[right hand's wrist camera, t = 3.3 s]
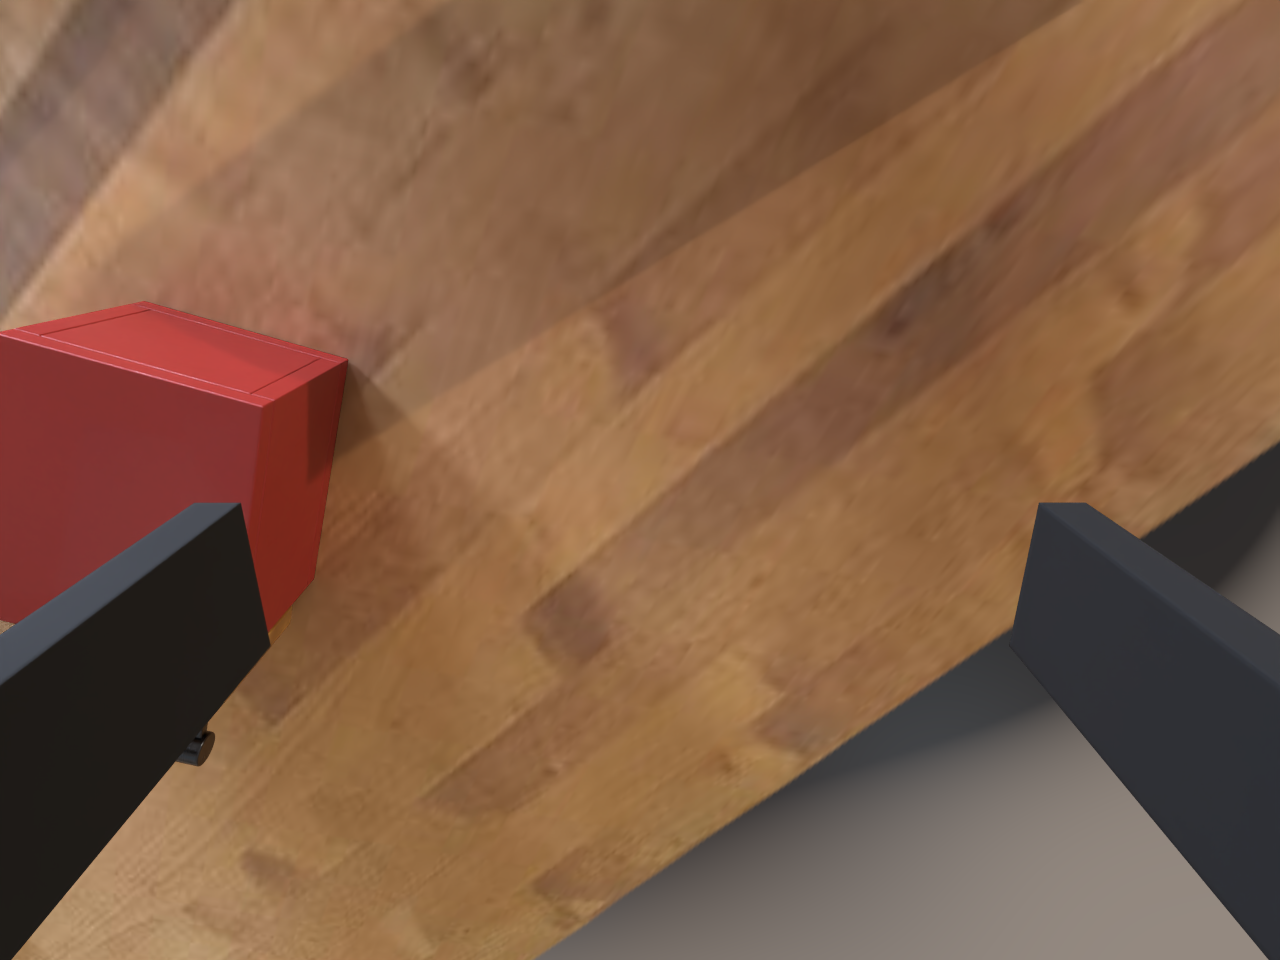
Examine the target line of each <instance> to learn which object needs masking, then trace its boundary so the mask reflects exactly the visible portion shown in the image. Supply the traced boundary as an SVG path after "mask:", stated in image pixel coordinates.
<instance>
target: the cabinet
mask: <svg viewBox="0 0 1280 960" xmlns="http://www.w3.org/2000/svg"><path fill="white" fill-rule="evenodd" d="M347 365H348V359H345V358H342V357H338V356H335V355H331V354H328V353H324V352H321V351H317V350H314V349H310V348H307V347H303V346H300V345H296V344H293V343H289V342H286V341H282V340H279V339H275V338H272V337H268V336H265V335H261V334H258V333H254V332H251V331H247V330H244V329H240V328H237V327H233V326H230V325H226V324H223V323H219V322H216V321H212V320H209V319H205V318H202V317H198V316H194V315H191V314H187V313H184V312H180V311H177V310H173V309H170V308H166V307H163V306H159V305H156V304H152V303H149V302H145V301H143V302H138V303H133V304H128V305H124V306H119V307H114V308H109V309H105V310H100V311H95V312H91V313H86V314H81V315H76V316H72V317H67V318H62V319H57V320H53V321H48V322H43V323H39V324H34V325H29V326H24V327H20V328H15V329H11V330H7V331H2V332H0V620H1V621H6V622H10V623H14V624H17V623H18V622H20V621H21V620H23V619H24V618H26V617H27V616H28V615H30V614H31V613H33V612H34V611H36V610H37V609H39V608H40V607H42V606H43V605H45V604H46V603H48V602H49V601H51V600H52V599H53V598H55V597H56V596H58V595H59V594H61V593H62V592H64V591H65V590H67V589H68V588H70V587H71V586H73V585H74V584H76V583H77V582H79V581H80V580H81V579H83V578H84V577H86V576H87V575H89V574H90V573H92V572H93V571H95V570H96V569H98V568H99V567H101V566H102V565H104V564H105V563H106V562H108V561H109V560H111V559H112V558H114V557H115V556H117V555H118V554H120V553H121V552H123V551H124V550H126V549H127V548H129V547H130V546H131V545H133V544H134V543H136V542H137V541H139V540H140V539H142V538H143V537H145V536H146V535H148V534H149V533H151V532H152V531H154V530H155V529H156V528H158V527H159V526H161V525H162V524H164V523H165V522H167V521H168V520H170V519H171V518H173V517H174V516H176V515H177V514H179V513H180V512H181V511H183V510H184V509H186V508H187V507H189V506H190V505H192V504H193V503H241V505H242V510H243V515H244V520H245V525H246V529H247V534H248V539H249V544H250V549H251V553H252V558H253V563H254V568H255V572H256V577H257V582H258V587H259V592H260V596H261V601H262V606H263V611H264V616H265V620H266V625H267V630H268V632H269V631H270V630H271V628H272V627H273V626H274V625H275V624H276V623H277V621H278V620H279V619H280V618H281V617H282V616H283V614H284V613H285V612H286V611H287V610H288V609H289V607H290V606H291V605H292V604H293V603H294V602H295V600H296V599H297V598H298V597H299V596H300V595H301V593H302V592H303V591H304V590H305V589H306V587H307V586H308V585H309V584H310V583H311V582H312V580H313V579H314V574H315V568H316V562H317V555H318V549H319V543H320V536H321V530H322V524H323V517H324V511H325V504H326V498H327V492H328V485H329V479H330V473H331V466H332V460H333V454H334V447H335V441H336V435H337V428H338V422H339V416H340V409H341V403H342V397H343V390H344V384H345V378H346V371H347Z"/></svg>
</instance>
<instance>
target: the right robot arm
mask: <svg viewBox="0 0 1280 960" xmlns="http://www.w3.org/2000/svg"><path fill="white" fill-rule="evenodd" d="M270 646H271V644H270V639H269V635H268V630H267V625H266V620H265V616H264V611H263V606H262V601H261V596H260V592H259V587H258V582H257V577H256V572H255V568H254V563H253V558H252V553H251V549H250V544H249V539H248V534H247V529H246V525H245V520H244V515H243V510H242V505H241V503H193V504H192V505H190V506H189V507H187V508H186V509H184V510H183V511H181V512H180V513H179V514H177V515H176V516H174V517H173V518H171V519H170V520H168V521H167V522H165V523H164V524H162V525H161V526H159V527H158V528H156V529H155V530H154V531H152V532H151V533H149V534H148V535H146V536H145V537H143V538H142V539H140V540H139V541H137V542H136V543H134V544H133V545H131V546H130V547H129V548H127V549H126V550H124V551H123V552H121V553H120V554H118V555H117V556H115V557H114V558H112V559H111V560H109V561H108V562H106V563H105V564H104V565H102V566H101V567H99V568H98V569H96V570H95V571H93V572H92V573H90V574H89V575H87V576H86V577H84V578H83V579H81V580H80V581H79V582H77V583H76V584H74V585H73V586H71V587H70V588H68V589H67V590H65V591H64V592H62V593H61V594H59V595H58V596H56V597H55V598H53V599H52V600H51V601H49V602H48V603H46V604H45V605H43V606H42V607H40V608H39V609H37V610H36V611H34V612H33V613H31V614H30V615H28V616H27V617H26V618H24V619H23V620H21V621H20V622H18V623H17V624H15V625H14V626H12V627H11V628H9V629H8V630H6V631H5V632H3V633H2V634H1V635H0V960H11V959H12V958H13V957H14V956H15V955H16V953H17V952H18V951H19V950H20V949H21V947H22V946H23V945H24V944H25V943H26V941H27V940H28V939H29V938H30V936H31V935H32V934H33V933H34V932H35V930H36V929H37V928H38V927H39V926H40V924H41V923H42V922H43V921H44V920H45V918H46V917H47V916H48V915H49V914H50V912H51V911H52V910H53V909H54V907H55V906H56V905H57V904H58V903H59V901H60V900H61V899H62V898H63V897H64V895H65V894H66V893H67V892H68V891H69V889H70V888H71V887H72V886H73V885H74V883H75V882H76V881H77V880H78V878H79V877H80V876H81V875H82V874H83V872H84V871H85V870H86V869H87V868H88V866H89V865H90V864H91V863H92V862H93V860H94V859H95V858H96V857H97V856H98V854H99V853H100V852H101V851H102V849H103V848H104V847H105V846H106V845H107V843H108V842H109V841H110V840H111V839H112V837H113V836H114V835H115V834H116V833H117V831H118V830H119V829H120V828H121V826H122V825H123V824H124V823H125V822H126V820H127V819H128V818H129V817H130V816H131V814H132V813H133V812H134V811H135V810H136V808H137V807H138V806H139V805H140V804H141V802H142V801H143V800H144V799H145V797H146V796H147V795H148V794H149V793H150V791H151V790H152V789H153V788H154V787H155V785H156V784H157V783H158V782H159V781H160V779H161V778H162V777H163V776H164V775H165V773H166V772H167V771H168V770H169V768H170V767H171V766H172V765H173V764H174V762H175V761H176V760H177V759H178V758H179V756H180V755H181V754H182V753H183V752H184V750H185V749H186V748H187V747H188V746H189V744H190V743H191V742H192V741H193V739H194V738H195V737H196V736H197V735H198V733H199V732H200V731H201V730H202V729H203V727H204V726H205V725H206V724H207V723H208V721H209V720H210V719H211V718H212V716H213V715H214V714H215V713H216V712H217V710H218V709H219V708H220V707H221V706H222V704H223V703H224V702H225V701H226V700H227V698H228V697H229V696H230V695H231V694H232V692H233V691H234V690H235V689H236V687H237V686H238V685H239V684H240V683H241V681H242V680H243V679H244V678H245V677H246V675H247V674H248V673H249V672H250V671H251V669H252V668H253V667H254V666H255V665H256V663H257V662H258V661H259V660H260V658H261V657H262V656H263V655H264V654H265V652H266V651H267V650H268V649H269V648H270ZM1009 646H1010V648H1011V649H1012V650H1013V651H1014V652H1015V654H1016V655H1017V656H1018V657H1019V658H1020V660H1021V661H1022V662H1023V663H1024V665H1025V666H1026V667H1027V668H1028V669H1029V670H1030V672H1031V673H1032V674H1033V675H1034V677H1035V678H1036V679H1037V680H1038V681H1039V683H1040V684H1041V685H1042V686H1043V687H1044V689H1045V690H1046V691H1047V692H1048V694H1049V695H1050V696H1051V697H1052V698H1053V700H1054V701H1055V702H1056V703H1057V704H1058V706H1059V707H1060V708H1061V709H1062V710H1063V712H1064V713H1065V714H1066V715H1067V716H1068V718H1069V719H1070V720H1071V721H1072V723H1073V724H1074V725H1075V726H1076V727H1077V729H1078V730H1079V731H1080V732H1081V733H1082V735H1083V736H1084V737H1085V738H1086V739H1087V741H1088V742H1089V743H1090V744H1091V746H1092V747H1093V748H1094V749H1095V750H1096V751H1097V753H1098V754H1099V755H1100V756H1101V758H1102V759H1103V760H1104V761H1105V762H1106V764H1107V765H1108V766H1109V767H1110V768H1111V770H1112V771H1113V772H1114V773H1115V775H1116V776H1117V777H1118V778H1119V779H1120V781H1121V782H1122V783H1123V784H1124V785H1125V787H1126V788H1127V789H1128V790H1129V791H1130V793H1131V794H1132V795H1133V796H1134V797H1135V799H1136V800H1137V801H1138V802H1139V803H1140V805H1141V806H1142V807H1143V808H1144V810H1145V811H1146V812H1147V813H1148V814H1149V816H1150V817H1151V818H1152V819H1153V820H1154V822H1155V823H1156V824H1157V825H1158V826H1159V828H1160V829H1161V830H1162V831H1163V833H1164V834H1165V835H1166V836H1167V837H1168V839H1169V840H1170V841H1171V842H1172V843H1173V845H1174V846H1175V847H1176V848H1177V849H1178V851H1179V852H1180V853H1181V854H1182V856H1183V857H1184V858H1185V859H1186V860H1187V861H1188V863H1189V864H1190V865H1191V866H1192V868H1193V869H1194V870H1195V871H1196V872H1197V874H1198V875H1199V876H1200V877H1201V878H1202V880H1203V881H1204V882H1205V883H1206V885H1207V886H1208V887H1209V888H1210V889H1211V891H1212V892H1213V893H1214V894H1215V895H1216V897H1217V898H1218V899H1219V900H1220V901H1221V903H1222V904H1223V905H1224V906H1225V907H1226V909H1227V910H1228V911H1229V912H1230V914H1231V915H1232V916H1233V917H1234V918H1235V920H1236V921H1237V922H1238V923H1239V924H1240V926H1241V927H1242V928H1243V929H1244V930H1245V932H1246V933H1247V934H1248V935H1249V937H1250V938H1251V939H1252V940H1253V941H1254V942H1255V944H1256V945H1257V946H1258V947H1259V949H1260V950H1261V951H1262V952H1263V953H1264V955H1265V956H1266V957H1267V958H1268V959H1269V960H1280V635H1279V634H1278V633H1277V632H1275V631H1274V630H1272V629H1271V628H1269V627H1268V626H1266V625H1265V624H1263V623H1262V622H1260V621H1259V620H1257V619H1256V618H1254V617H1253V616H1251V615H1250V614H1249V613H1247V612H1246V611H1244V610H1243V609H1241V608H1240V607H1238V606H1237V605H1235V604H1234V603H1232V602H1231V601H1229V600H1228V599H1226V598H1225V597H1224V596H1222V595H1221V594H1219V593H1218V592H1216V591H1215V590H1213V589H1212V588H1210V587H1209V586H1207V585H1206V584H1204V583H1203V582H1201V581H1200V580H1199V579H1197V578H1196V577H1194V576H1193V575H1191V574H1190V573H1188V572H1187V571H1185V570H1184V569H1182V568H1181V567H1179V566H1178V565H1176V564H1175V563H1173V562H1172V561H1171V560H1169V559H1168V558H1166V557H1165V556H1163V555H1162V554H1160V553H1159V552H1157V551H1156V550H1154V549H1153V548H1151V547H1150V546H1149V545H1147V544H1146V543H1144V542H1143V541H1141V540H1140V539H1138V538H1137V537H1135V536H1134V535H1132V534H1131V533H1129V532H1128V531H1126V530H1125V529H1124V528H1122V527H1121V526H1119V525H1118V524H1116V523H1115V522H1113V521H1112V520H1110V519H1109V518H1107V517H1106V516H1104V515H1103V514H1101V513H1100V512H1099V511H1097V510H1096V509H1094V508H1093V507H1091V506H1090V505H1088V504H1087V503H1039V505H1038V510H1037V515H1036V520H1035V525H1034V529H1033V534H1032V539H1031V544H1030V549H1029V553H1028V558H1027V563H1026V568H1025V572H1024V577H1023V582H1022V587H1021V592H1020V596H1019V601H1018V606H1017V611H1016V616H1015V620H1014V625H1013V630H1012V635H1011V639H1010V644H1009Z"/></svg>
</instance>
